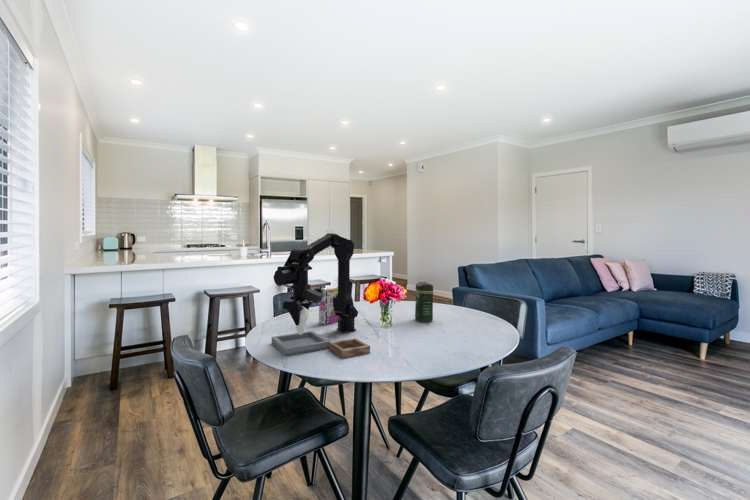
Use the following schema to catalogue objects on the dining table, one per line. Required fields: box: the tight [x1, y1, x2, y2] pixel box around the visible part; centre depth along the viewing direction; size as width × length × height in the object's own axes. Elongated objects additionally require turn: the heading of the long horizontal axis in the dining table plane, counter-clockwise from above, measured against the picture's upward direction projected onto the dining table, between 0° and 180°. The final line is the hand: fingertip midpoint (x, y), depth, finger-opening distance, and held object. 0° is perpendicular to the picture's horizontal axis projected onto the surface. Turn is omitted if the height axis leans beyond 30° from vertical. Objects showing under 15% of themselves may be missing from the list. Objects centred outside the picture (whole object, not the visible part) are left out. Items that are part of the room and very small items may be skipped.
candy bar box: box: [318, 286, 339, 326], centre depth 179 cm, size 11×5×16 cm, turn 144°
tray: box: [271, 330, 331, 357], centre depth 144 cm, size 17×17×2 cm
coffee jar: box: [414, 281, 434, 323], centre depth 184 cm, size 10×8×19 cm
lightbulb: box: [295, 306, 310, 335], centre depth 144 cm, size 6×6×11 cm
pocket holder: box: [328, 337, 371, 359], centre depth 138 cm, size 11×11×2 cm
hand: (300, 323), depth 144 cm, fingers closed on lightbulb, 5 cm apart
